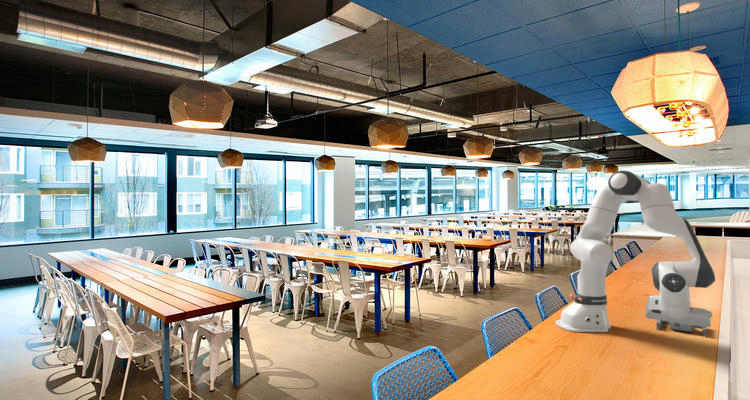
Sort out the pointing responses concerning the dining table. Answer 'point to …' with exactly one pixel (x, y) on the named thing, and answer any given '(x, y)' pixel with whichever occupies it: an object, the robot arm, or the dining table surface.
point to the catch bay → (659, 323)
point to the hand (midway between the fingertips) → (677, 325)
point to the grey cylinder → (683, 328)
